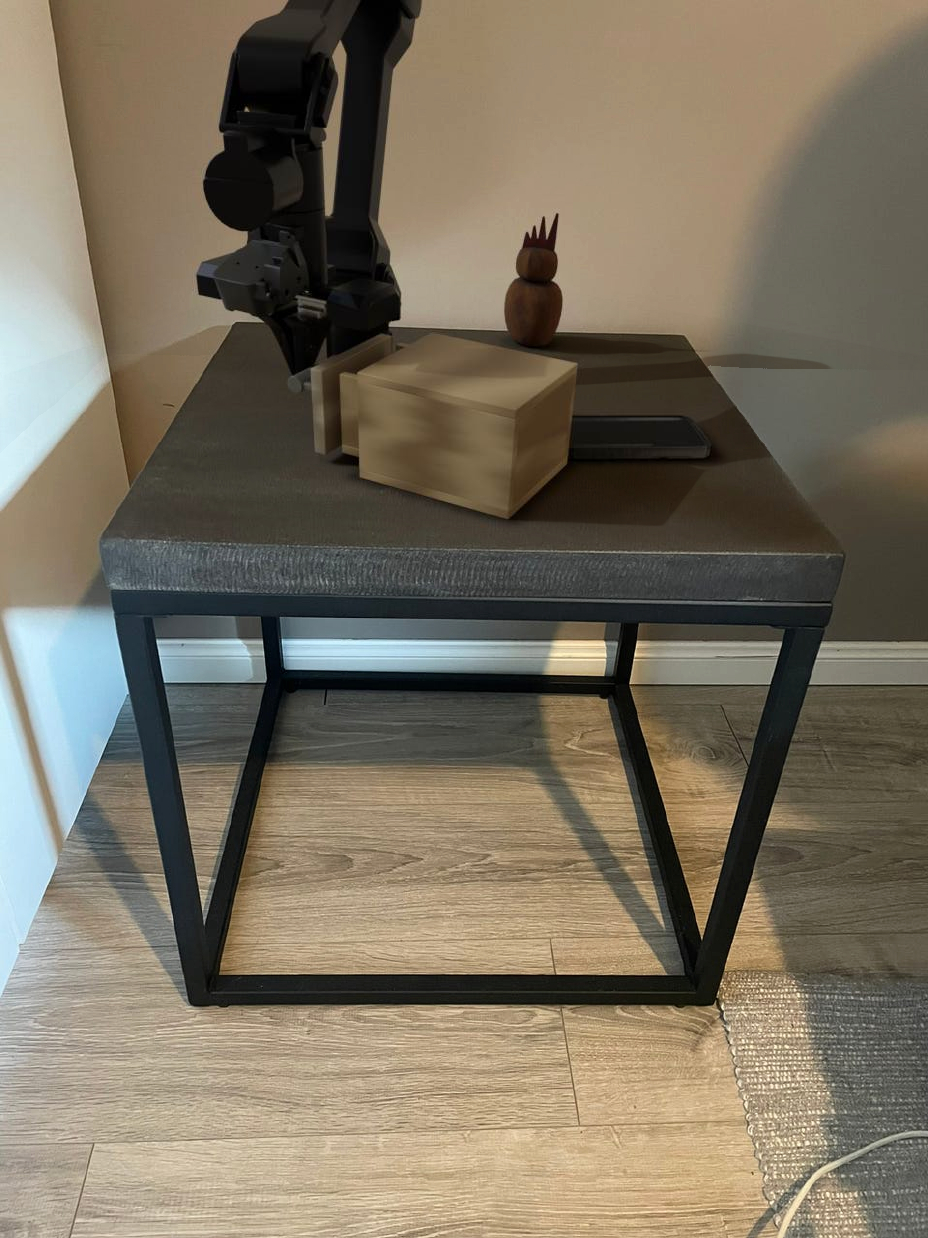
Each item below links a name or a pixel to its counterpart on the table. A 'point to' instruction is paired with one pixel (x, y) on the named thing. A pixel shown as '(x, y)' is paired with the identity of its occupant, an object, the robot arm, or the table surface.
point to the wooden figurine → (535, 290)
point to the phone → (636, 437)
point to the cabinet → (465, 422)
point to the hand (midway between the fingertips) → (301, 382)
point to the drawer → (339, 393)
